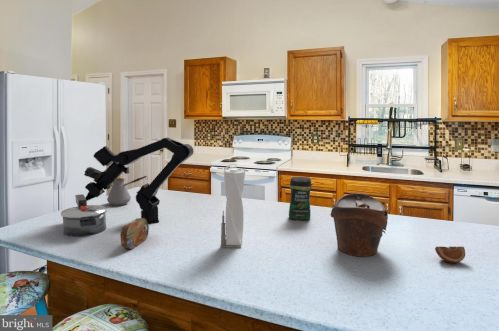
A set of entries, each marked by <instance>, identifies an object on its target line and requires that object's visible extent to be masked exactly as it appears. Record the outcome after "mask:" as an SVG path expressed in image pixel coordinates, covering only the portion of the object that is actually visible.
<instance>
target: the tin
mask: <svg viewBox="0 0 499 331" xmlns="http://www.w3.org/2000/svg"><path fill="white" fill-rule="evenodd" d="M149 227H150V225H149V223H148V222H147V220H146V219H145V218H141V217H140V218H139V217H138V218H136V219H134V220H132V221H130V222H128V223H126V224H125V225H124V226H122V228H121V231H120V244H121V246H122V248H124V249H127V250H128V249H130V250H133V249H135V248H137V247H138V246H139V245H140V244H142V243H144V242H145V241H146V240H147V238H148V235H149V229H150V228H149Z"/></svg>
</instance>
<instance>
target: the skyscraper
mask: <svg viewBox="0 0 499 331" xmlns="http://www.w3.org/2000/svg"><path fill="white" fill-rule="evenodd" d="M231 166H234V168H230V169H229V170H228V171H226V170H227V169H228V168H229V167H231ZM237 166H238V164H237V163H230V164H228V165H227V166H226V167H225V169H224V170H223V177H224V178H223V180H224V190H225V198H226V201H225V202H226V203H225V211H224V210H222V216H221V219H222V220H221V223H220V226H221V227H220V228H221V230H220V234H221V235H220V249H221V248H223V249H241V248H242V244H243V236H244V206H243V200H242V198H243V193H244V185H245V176H246V170H244V169H239V168H237ZM224 213H225V214H224Z"/></svg>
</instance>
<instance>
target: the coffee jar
mask: <svg viewBox="0 0 499 331" xmlns="http://www.w3.org/2000/svg"><path fill="white" fill-rule="evenodd" d="M289 189H290V200H289V201H290V202H289V209H288V217H289V219H291V220H296V221H307V220H309V219H311V190H312V179H311V177H308V176H307V177H306V176H291V177H290V181H289Z"/></svg>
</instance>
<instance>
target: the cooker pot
mask: <svg viewBox="0 0 499 331" xmlns="http://www.w3.org/2000/svg"><path fill="white" fill-rule="evenodd" d="M106 217H107V215H106V212H105V213H104V214H101V215H98V216H94V217H89V218H78V219H71V218H64V217H62V225H63V226H62V228H63V235H64V236H67V237H73V238H74V237H75V238H77V237H78V238H79V237H87V236H93V235H97V234H100V233H103V232H104V231H106V230H107V218H106Z"/></svg>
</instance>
